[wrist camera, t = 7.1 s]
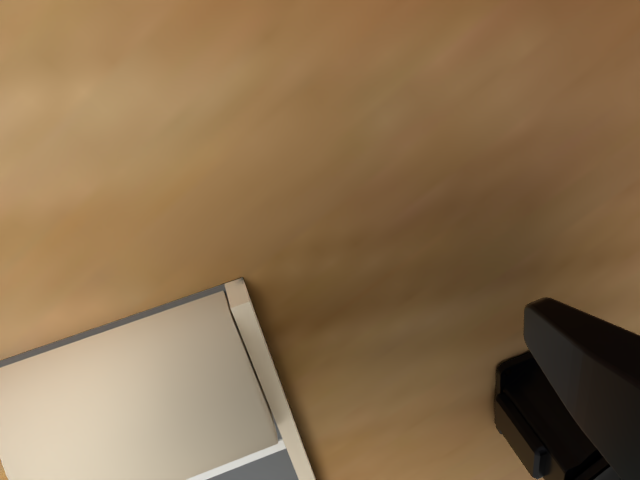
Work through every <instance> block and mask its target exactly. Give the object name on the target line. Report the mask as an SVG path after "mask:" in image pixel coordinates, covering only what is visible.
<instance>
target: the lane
mask: <svg viewBox="0 0 640 480" xmlns="http://www.w3.org/2000/svg"><path fill="white" fill-rule="evenodd" d="M0 459H1V462H2V465H3V468H4V470H5V473H6V476H7V478H8V480H316V478H315V475H314V473H313V470H312V467H311V464H310V462H309V459H308V456H307V453H306V451H305V448H304V445H303V442H302V440H301V437H300V434H299V431H298V429H297V426H296V423H295V420H294V418H293V415H292V412H291V409H290V406H289V404H288V401H287V398H286V395H285V393H284V390H283V387H282V384H281V382H280V379H279V376H278V373H277V371H276V368H275V365H274V362H273V360H272V357H271V354H270V351H269V349H268V346H267V343H266V340H265V338H264V335H263V332H262V329H261V327H260V324H259V321H258V318H257V316H256V313H255V310H254V307H253V304H252V302H251V299H250V296H249V293H248V291H247V288H246V285H245V282H244V280H243V278H240V279H237V280H234V281H231V282H228V283H225V284H222V285H219V286H216V287H213V288H210V289H207V290H204V291H201V292H198V293H196V294H193V295H190V296H187V297H184V298H181V299H178V300H175V301H172V302H169V303H167V304H164V305H161V306H158V307H155V308H152V309H149V310H146V311H143V312H140V313H137V314H135V315H132V316H129V317H126V318H123V319H120V320H117V321H114V322H111V323H108V324H106V325H103V326H100V327H97V328H94V329H91V330H88V331H85V332H82V333H79V334H77V335H74V336H71V337H68V338H65V339H62V340H59V341H56V342H53V343H50V344H48V345H45V346H42V347H39V348H36V349H33V350H30V351H27V352H24V353H21V354H18V355H16V356H13V357H10V358H7V359H4V360H1V361H0Z"/></svg>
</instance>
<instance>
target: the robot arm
mask: <svg viewBox="0 0 640 480" xmlns="http://www.w3.org/2000/svg"><path fill="white" fill-rule="evenodd" d="M524 340H525V343H526V345H527V347H528V349H529V350H530V352H529V353H526V354H524V355H521V356H519V357H516V358H514V359H511V360H509V361H506V362H504V363H502V364H501V365H499V366H498V368H497V371H496V397H495V424H496V428H497V430H498V431H499V433H500V434H503V436H504V437H505V438H506V440H507V441H508V443H509V444H510V446H511V447H512V449H513V450H514V452H515V453H516V454H517V456H518V457H519V459H520V460H521V462H522V463H523V465H524V466H525V467H526V469H527V470H528V472H529V473H530V475H531V476H532V477H534V478H536V479H539V478H542V477H543V478H544V480H640V335H637V334H635V333H632V332H630V331H628V330H625V329H623V328H621V327H618V326H616V325H613V324H611V323H609V322H606V321H604V320H602V319H599V318H597V317H594V316H592V315H590V314H587V313H585V312H583V311H580V310H578V309H575V308H573V307H571V306H568V305H566V304H564V303H561V302H559V301H556V300H554V299H552V298H541V299H539V300H536V301H534V302H531V303H529V304H527V305H526V307H525V309H524Z"/></svg>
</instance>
